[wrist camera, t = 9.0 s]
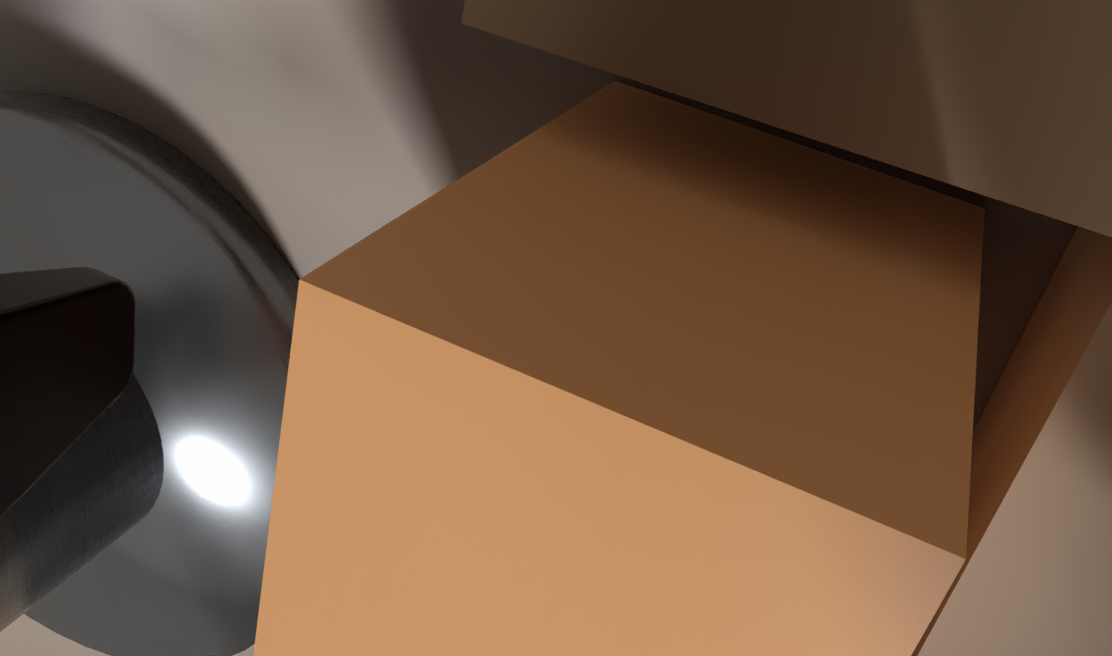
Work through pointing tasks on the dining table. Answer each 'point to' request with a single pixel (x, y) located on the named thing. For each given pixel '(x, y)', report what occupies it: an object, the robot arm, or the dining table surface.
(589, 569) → the block
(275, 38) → the dining table surface
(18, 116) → the bobbin
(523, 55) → the dining table surface
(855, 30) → the notched board
